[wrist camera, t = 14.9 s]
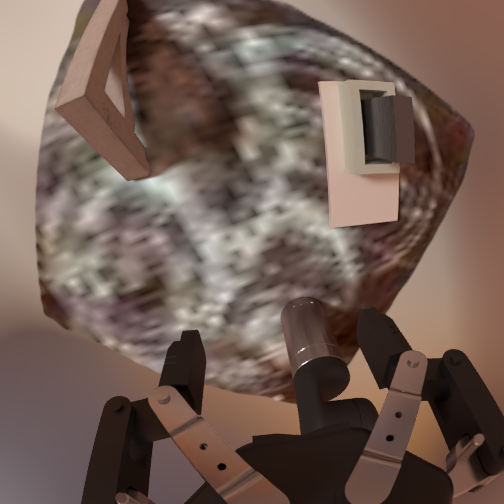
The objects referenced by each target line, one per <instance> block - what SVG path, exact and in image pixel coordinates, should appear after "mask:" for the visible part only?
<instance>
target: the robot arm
mask: <svg viewBox="0 0 504 504" xmlns="http://www.w3.org/2000/svg"><path fill="white" fill-rule="evenodd" d="M281 322H282V327H283V332H284V337H285V342H286V347H287V352H288V357H289V362H290V366H291V371H292V376H293V382H294V387H295V394H296V402H297V408H298V414H299V422H300V430H301V435H289V434H268V435H259V436H253V442H252V443H249V444H246V445H244V446H242V447H240V448H238V449H237V450H235V451H234V450H233V449H232V448H231V447H230V446H229V445H228V444H227V443H226V442H225V441H224V440H223V439H222V438H221V437H220V436H219V435H218V434H217V433H216V432H215V430H214V429H213V428H212V427H211V426H210V425H209V424H208V423H207V422H206V421H205V420H204V419H203V418H202V417H199V416H198V415H201V409H202V408H201V407H202V398H203V388H204V378H205V369H206V355H205V351H204V347H203V344H202V341H201V337H200V334H199V331H198V330H187V331H183V332H182V335H181V340H180V341H174V342H173V343H172V344H171V346H170V347H169V348H168V351H167V354H166V358H165V362H164V363H165V364H164V366H163V370H162V374H161V378H160V382H159V386H158V387H157V388H155V389H154V390H153V391H152V392H151V393H150V394H149V397H148V398H146V399H142V400H138V401H134V402H130V400H129V399H128V398H126V397H123V396H116V397H113V398H111V399H110V400H108V401H107V403H106V404H105V406H104V409H103V412H102V416H101V419H100V423H99V426H98V430H97V434H96V438H95V442H94V446H93V450H92V454H91V458H90V462H89V467H88V471H87V476H86V481H85V486H84V491H83V496H82V502H81V504H156V503H154V502H153V501H152V500H150V499H149V498H148V489H149V477H150V467H151V457H152V448H153V441H157V440H161V439H165V438H169V437H171V438H172V440H173V441H174V442H175V444H176V445H177V446H178V448H179V449H180V450H181V452H182V453H183V454H184V456H185V457H186V458H187V459H188V460H189V462H190V463H191V464H192V466H193V467H194V468H195V469H196V471H197V472H198V473H199V474H200V475H201V476H202V478H203V479H204V480H205V481H206V482H205V483H204V484H203V485H202V486H201V487H200V488H199V489H198V490H197V491H196V492H195V493H194V494H193V495H192V496H191V497H190V498H189V499H188V500H187V501H186V502H185V503H184V504H452V500H453V498H455V497H457V496H459V495H461V494H463V493H465V492H467V491H468V492H475V491H478V490H479V489H481V488H482V487H483V486H485V485H486V484H487V483H489V482H490V481H491V480H493V479H494V478H495V477H497V476H498V475H499V474H500V473H501V472H502V471H504V416H503V414H502V412H501V411H500V409H499V407H498V406H497V404H496V402H495V400H494V398H493V397H492V395H491V393H490V392H489V390H488V388H487V387H486V385H485V384H484V382H483V380H482V379H481V377H480V376H479V374H478V372H477V371H476V369H475V368H474V366H473V365H472V363H471V362H470V360H469V359H468V357H467V356H466V355H465V354H464V353H463V352H462V351H460V350H456V349H451V350H448V351H446V352H445V353H444V355H443V357H442V358H432V359H429V358H426V356H425V355H424V354H422V353H421V352H419V351H414V350H412V348H411V346H410V345H409V343H408V342H407V340H406V339H405V337H404V336H403V335H402V333H401V332H400V330H399V328H398V327H397V326H396V324H395V323H394V321H393V320H392V319H391V318H390V317H388V316H387V315H385V314H381V315H380V314H379V312H378V311H377V309H376V308H375V307H374V306H371V307H366V308H361V309H359V313H358V322H357V330H356V337H357V342H358V344H359V347H360V349H361V351H362V353H363V355H364V357H365V359H366V361H367V363H368V365H369V367H370V370H371V372H372V374H373V376H374V378H375V380H376V382H377V384H378V387H379V389H383V388H388V390H389V391H388V394H387V397H386V399H385V402H384V404H383V407H382V410H381V412H380V415H378V412H377V410H376V408H375V407H374V405H373V404H372V402H371V401H369V400H368V399H366V398H352V399H344V400H336V401H329V400H331V399H333V398H335V397H337V396H338V395H340V394H341V393H342V392H343V391H344V390H345V389H346V387H347V386H348V384H349V381H350V374H349V370H348V368H347V365H346V363H345V360H344V358H343V355H342V353H341V351H340V348H339V346H338V343H337V341H336V338H335V336H334V333H333V331H332V328H331V326H330V324H329V321H328V319H327V316H326V314H325V311H324V309H323V307H322V305H321V304H320V303H319V301H317V300H315V299H313V298H308V297H303V298H298V299H295V300H293V301H291V302H290V303H288V304H287V305H286V306H285V308H284V309H283V311H282V313H281ZM421 401H428V402H429V404H430V406H431V409H432V411H433V413H434V415H435V418H436V420H437V422H438V425H439V427H440V429H441V432H442V434H443V436H444V438H445V441H446V444H447V446H448V449H449V451H450V452H449V453H448V455H447V457H446V472H445V471H444V470H443V469H441V468H439V467H437V466H435V465H433V464H431V463H429V462H427V461H425V460H423V459H422V458H420V457H418V456H416V455H414V454H412V453H410V452H409V451H407V450H406V448H407V445H408V442H409V439H410V436H411V433H412V430H413V427H414V423H415V420H416V417H417V413H418V410H419V405H420V402H421Z"/></svg>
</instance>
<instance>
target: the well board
mask: <svg viewBox="0 0 504 504" xmlns="http://www.w3.org/2000/svg"><path fill="white" fill-rule="evenodd" d="M318 85H319V92H320V100H321V109H322V118H323V128H324V139H325V150H326V163H327V178H328V196H329V221H330V227H331V228H337V227H345V226H354V225H362V224H371V223H380V222H388V221H397V220H398V197H399V173H400V163H395V162H391V161H388V160H384V159H381V158H377V157H374V156H370V155H366V154H365V151H364V135H363V123H362V112H361V102H360V100H365V99H371V98H377V97H383V96H390V95H395V87H394V83H390V82H379V81H365V80H347V81H344V82H318Z"/></svg>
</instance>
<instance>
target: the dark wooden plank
mask: <svg viewBox="0 0 504 504" xmlns="http://www.w3.org/2000/svg"><path fill="white" fill-rule="evenodd" d="M360 102H361V112H362V123H363V135H364V151H365V154H366V155H370V156H374V157H377V158H381V159H384V160H388V161H391V162H395V163H415V137H414V119H413V106H412V97H406V96H396V95H390V96H383V97H377V98H371V99H365V100H360Z"/></svg>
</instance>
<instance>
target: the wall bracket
mask: <svg viewBox="0 0 504 504" xmlns="http://www.w3.org/2000/svg"><path fill="white" fill-rule="evenodd" d="M127 12H128V5H127V0H101V1H100V3H99V5H98V7H97V9H96V10H95V12H94V14H93V16H92V18H91V20H90V22H89V24H88V26H87V28H86V30H85V32H84V34H83V36H82V38H81V40H80V42H79V45H78V47H77V49H76V51H75V54H74V56H73V59H72V61H71V63H70V66H69V68H68V71H67V74H66V76H65V79H64V82H63V85H62V88H61V91H60V94H59V97H58V100H57V103H56V106H55V109H56V110H57V111H58V113H59V114H60V115H61V116H62V117H63V118H64V119H65V120H66V121H67V122H68V123H69V124H70V125H71V126H72V127H73V128H74V129H75V130H76V131H77V132H78V133H79V134H80V135H81V136H82V137H83V138H84V139H85V140H86V141H87V142H88V143H89V144H90V145H91V146H92V147H93V148H94V149H95V150H96V151H97V152H98V153H99V154H100V155H101V156H102V157H103V158H104V159H105V160H106V161H107V162H108V163H109V164H110V165H111V166H112V167H113V168H115V169H116V170H117V171H118V172H119V173H120V174H121V175H122V176H123V177H124V178H125V179H126V180H127V181H130V180H134V179H138V178H142V177H146V176H150V163H149V162H148V161H147V159H146V154H145V149H144V146H143V144H142V143H141V141H140V140H139V138H138V137H137V136H136V134H135V133H134V129H135V120H134V115H133V110H132V105H131V100H130V95H129V87H128V78H127V68H126V41H127V34H128V28H129V19H128V17H127Z"/></svg>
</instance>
